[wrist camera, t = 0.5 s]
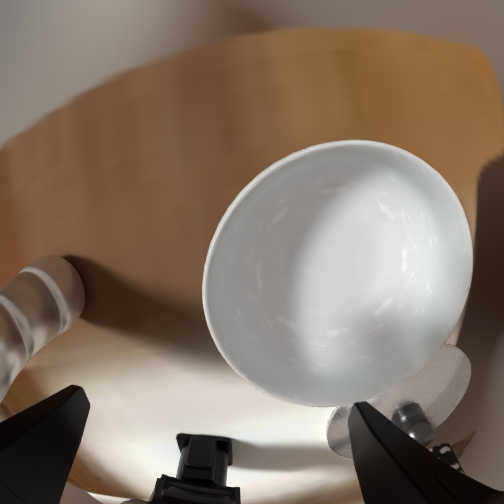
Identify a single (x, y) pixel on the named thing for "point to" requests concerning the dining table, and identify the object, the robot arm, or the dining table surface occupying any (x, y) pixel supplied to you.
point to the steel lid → (413, 400)
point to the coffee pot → (134, 502)
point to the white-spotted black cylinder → (447, 455)
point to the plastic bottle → (36, 312)
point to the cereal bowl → (337, 273)
